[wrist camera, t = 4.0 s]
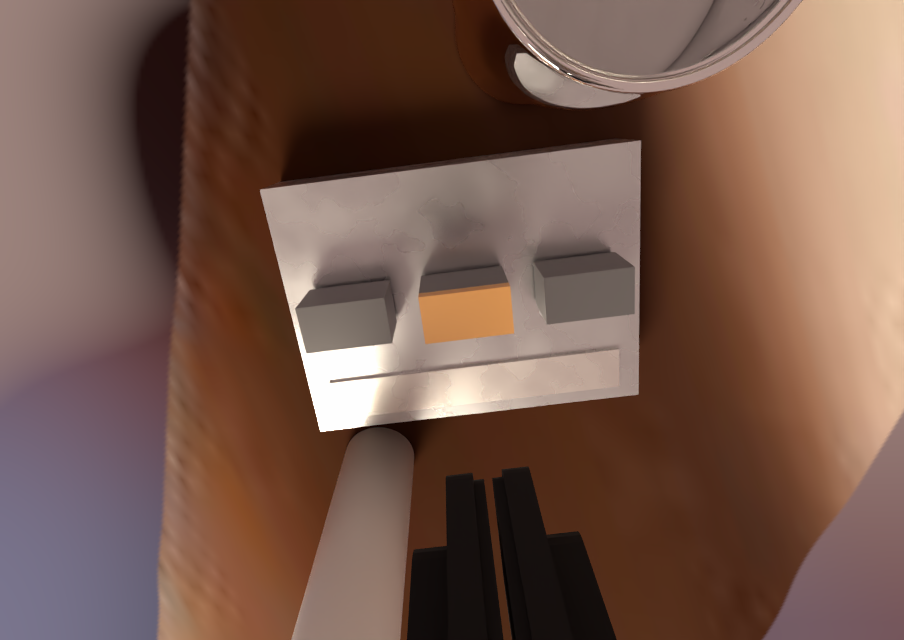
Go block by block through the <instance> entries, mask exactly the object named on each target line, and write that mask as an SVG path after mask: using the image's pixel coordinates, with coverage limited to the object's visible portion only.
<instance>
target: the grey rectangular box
mask: <svg viewBox="0 0 904 640" xmlns="http://www.w3.org/2000/svg"><path fill="white" fill-rule="evenodd" d="M295 310H296V315H297V319H298V323H299V327H300V331H301V335H302V339H303V343H304V347H305V351H306V354H308V353H316V352H324V351H333V350H341V349H349V348H358V347H366V346H374V345H382V344H391V343H392V342H393V337H394V333H395V328H396V323H397V319H396V313H395V307H394V301H393V296H392V290H391V284H390V280H384V281H376V282H368V283H360V284H351V285H343V286H335V287H327V288H319V289H311V290H309V291H308V293H307V294H306V295H305V297H304V298H303V299H302V300H301V302H300V303H299V304H298V306H297V307H296V308H295Z"/></svg>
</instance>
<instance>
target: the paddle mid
mask: <svg viewBox="0 0 904 640" xmlns="http://www.w3.org/2000/svg"><path fill="white" fill-rule="evenodd" d="M418 299H419V306H420V312H421V319H422V325H423V332H424V338H425V344H431V343H439V342H448V341H456V340H464V339H472V338H481V337H489V336H497V335H506V334H514V324H513V312H512V301H511V289H510V284H509V282H508V280H507V277H506V275H505V272H504V270H503V268H502V266H497V267H489V268H481V269H473V270H465V271H456V272H448V273H440V274H432V275H424V276H421V280H420V287H419V295H418Z"/></svg>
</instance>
